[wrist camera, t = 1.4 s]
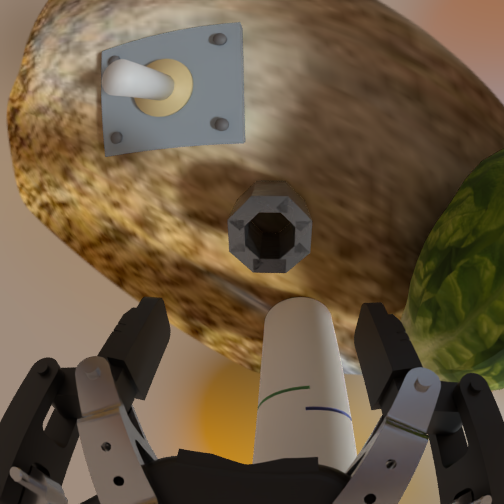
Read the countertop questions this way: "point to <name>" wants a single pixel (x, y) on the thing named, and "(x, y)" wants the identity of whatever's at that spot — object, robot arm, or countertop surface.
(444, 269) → the lettuce
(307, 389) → the cylindrical container
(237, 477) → the robot arm
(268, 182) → the collar
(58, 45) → the countertop surface
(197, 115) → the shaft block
